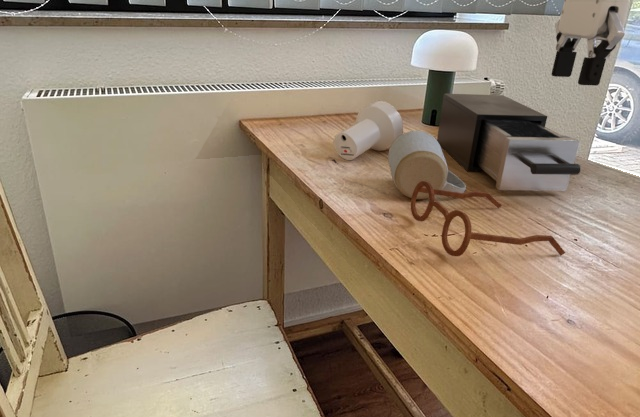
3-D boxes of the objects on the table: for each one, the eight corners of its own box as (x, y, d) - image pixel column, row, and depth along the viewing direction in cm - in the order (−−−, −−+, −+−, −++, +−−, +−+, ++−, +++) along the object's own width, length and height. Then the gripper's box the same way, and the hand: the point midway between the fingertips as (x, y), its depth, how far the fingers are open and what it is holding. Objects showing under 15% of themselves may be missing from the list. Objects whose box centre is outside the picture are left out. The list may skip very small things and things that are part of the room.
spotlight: (408, 145, 84) (401, 99, 81) (369, 172, 77) (358, 123, 74) (371, 142, 90) (362, 99, 86) (331, 168, 83) (320, 122, 79)
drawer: (585, 203, 65) (600, 150, 62) (513, 203, 64) (525, 149, 61) (518, 157, 82) (528, 114, 79) (461, 156, 81) (469, 113, 78)
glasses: (406, 213, 61) (411, 175, 59) (499, 207, 64) (506, 171, 62) (457, 267, 50) (465, 223, 48) (566, 257, 53) (578, 215, 51)
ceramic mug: (390, 201, 65) (397, 144, 62) (384, 178, 72) (391, 127, 69) (470, 206, 65) (482, 151, 61) (456, 184, 72) (466, 133, 69)
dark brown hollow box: (534, 172, 78) (547, 116, 75) (467, 171, 77) (477, 114, 73) (493, 143, 92) (503, 95, 89) (436, 142, 91) (443, 93, 87)
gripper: (673, -46, 64) (631, 91, 71) (593, -40, 80) (566, 72, 87) (620, -50, 63) (583, 90, 70) (550, -43, 79) (525, 71, 86)
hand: (574, 79), depth 79 cm, fingers open, 7 cm apart
